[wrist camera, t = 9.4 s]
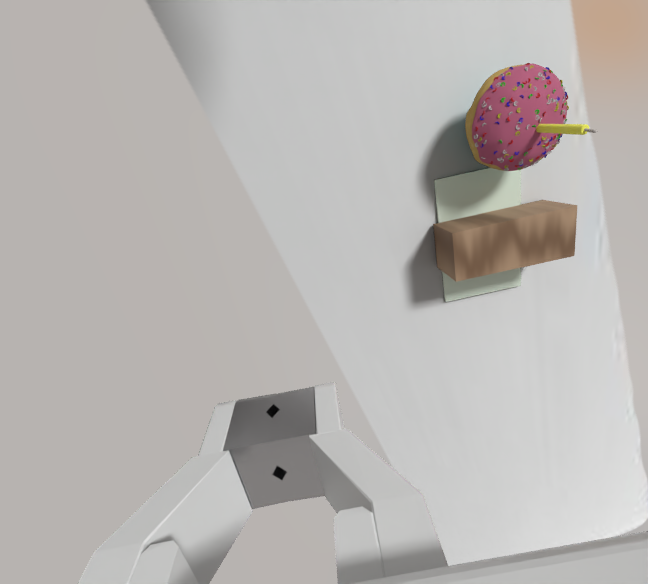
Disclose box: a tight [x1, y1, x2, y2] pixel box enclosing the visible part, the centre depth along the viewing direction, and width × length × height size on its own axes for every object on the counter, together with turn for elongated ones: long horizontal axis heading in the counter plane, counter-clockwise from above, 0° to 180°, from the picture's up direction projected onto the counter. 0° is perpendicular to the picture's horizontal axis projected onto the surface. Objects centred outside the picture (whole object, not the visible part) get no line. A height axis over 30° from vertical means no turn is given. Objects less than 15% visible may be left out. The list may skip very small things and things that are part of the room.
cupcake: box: [465, 63, 597, 171], centre depth 29 cm, size 9×8×12 cm
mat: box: [434, 168, 521, 302], centre depth 38 cm, size 14×9×1 cm, turn 12°
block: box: [433, 200, 577, 282], centre depth 36 cm, size 5×5×12 cm
